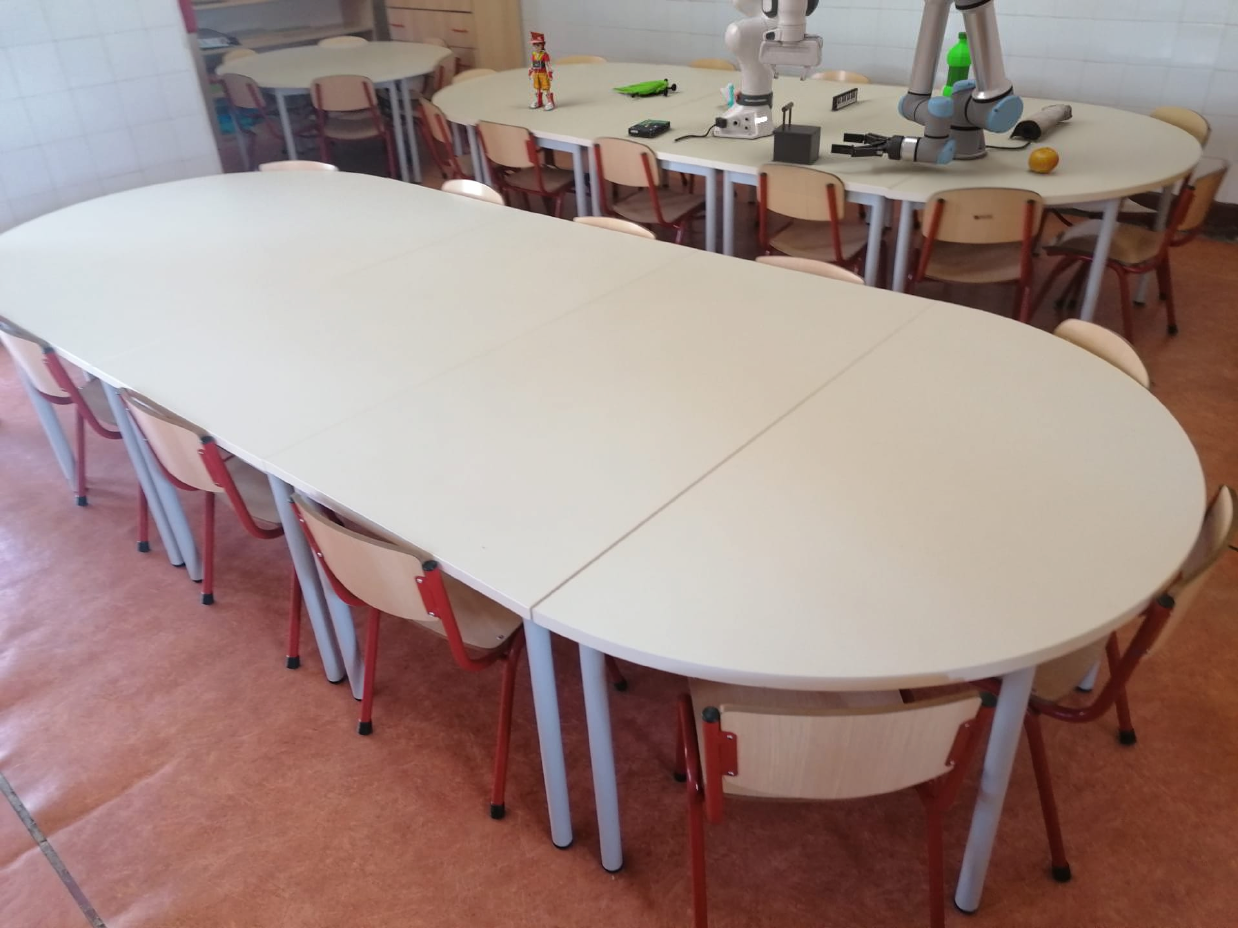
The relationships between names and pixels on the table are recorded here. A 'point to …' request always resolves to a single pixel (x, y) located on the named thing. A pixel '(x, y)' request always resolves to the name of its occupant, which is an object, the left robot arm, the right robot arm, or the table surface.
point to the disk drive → (649, 128)
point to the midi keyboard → (844, 98)
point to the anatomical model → (729, 94)
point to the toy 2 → (648, 88)
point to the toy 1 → (541, 71)
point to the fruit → (1043, 160)
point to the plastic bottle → (957, 63)
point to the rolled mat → (1042, 122)
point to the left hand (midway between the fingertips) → (789, 79)
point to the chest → (796, 148)
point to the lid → (794, 129)
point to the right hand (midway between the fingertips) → (837, 143)
